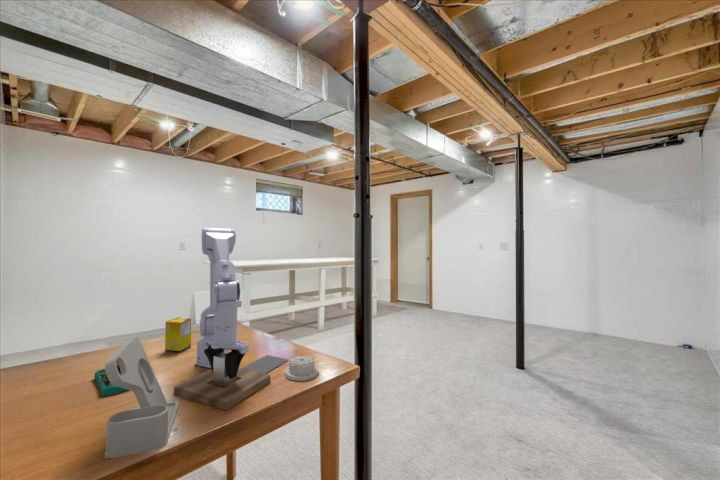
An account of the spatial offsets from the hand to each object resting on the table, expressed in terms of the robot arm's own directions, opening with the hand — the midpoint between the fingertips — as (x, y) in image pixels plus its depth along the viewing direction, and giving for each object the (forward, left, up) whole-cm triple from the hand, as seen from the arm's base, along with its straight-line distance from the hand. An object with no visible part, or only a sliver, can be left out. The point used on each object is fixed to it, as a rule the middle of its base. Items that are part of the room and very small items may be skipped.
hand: (224, 375), depth 83 cm
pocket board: (0, 0, -3) cm, 3 cm away
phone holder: (-1, -20, -4) cm, 20 cm away
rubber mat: (0, +16, -3) cm, 16 cm away
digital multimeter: (-29, -11, -4) cm, 31 cm away
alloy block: (0, 0, -3) cm, 3 cm away
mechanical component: (+14, +16, -4) cm, 22 cm away
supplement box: (-37, +14, -4) cm, 40 cm away
